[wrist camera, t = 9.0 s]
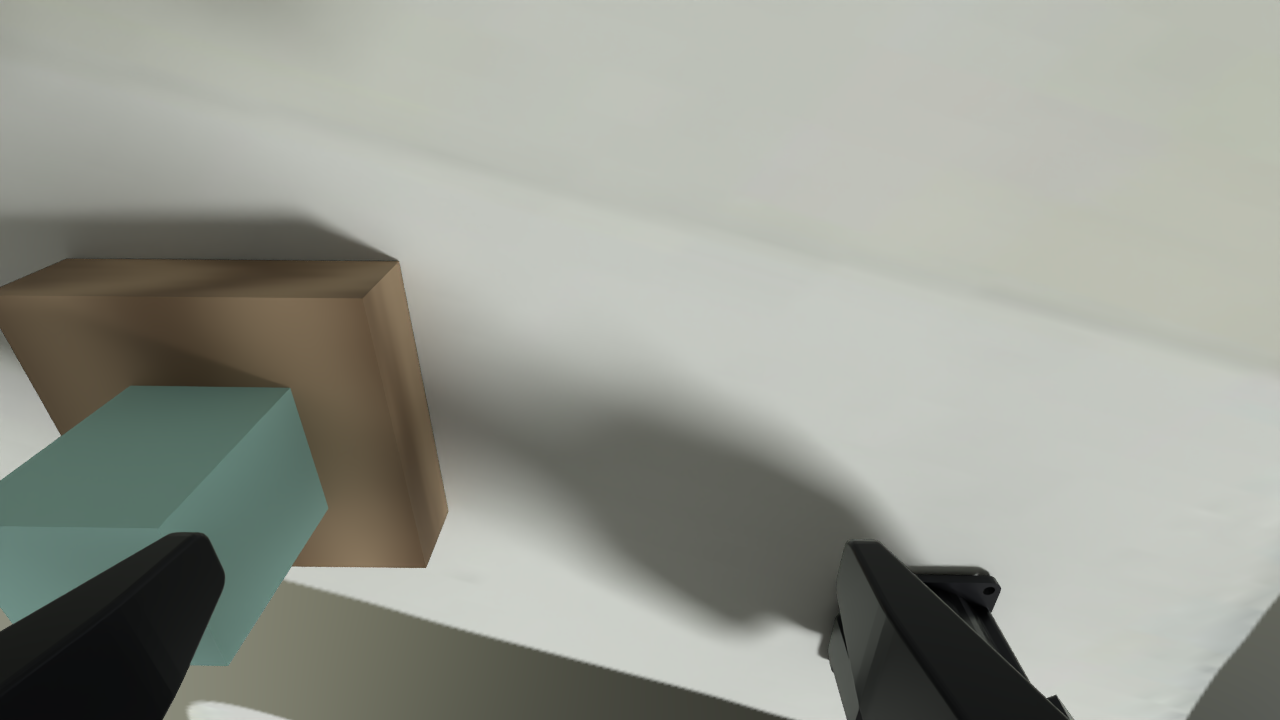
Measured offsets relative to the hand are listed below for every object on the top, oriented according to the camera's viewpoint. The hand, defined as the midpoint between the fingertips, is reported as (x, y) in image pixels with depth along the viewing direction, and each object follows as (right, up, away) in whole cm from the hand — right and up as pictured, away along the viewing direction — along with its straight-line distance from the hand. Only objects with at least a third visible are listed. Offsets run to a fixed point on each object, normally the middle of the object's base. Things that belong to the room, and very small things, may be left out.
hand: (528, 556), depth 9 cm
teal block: (-12, 0, +12) cm, 17 cm away
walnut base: (-12, +1, +14) cm, 19 cm away
